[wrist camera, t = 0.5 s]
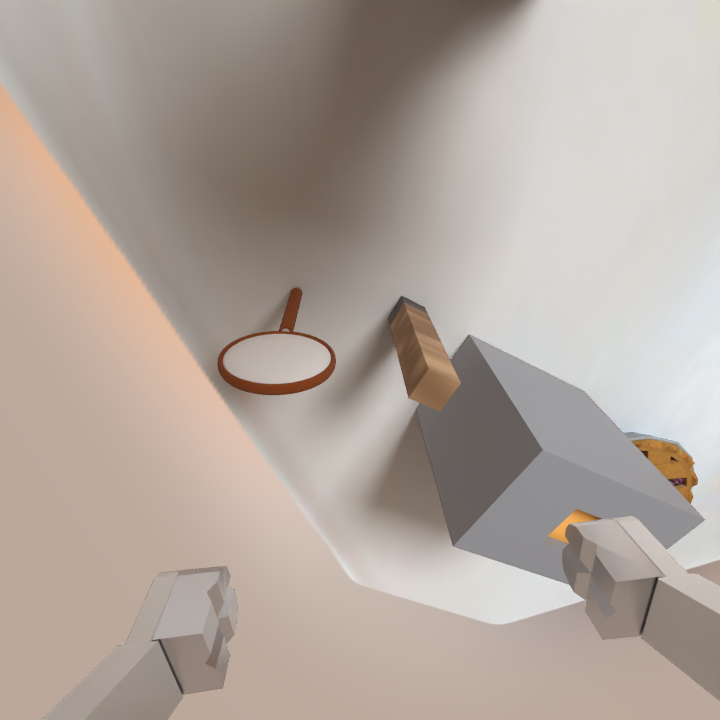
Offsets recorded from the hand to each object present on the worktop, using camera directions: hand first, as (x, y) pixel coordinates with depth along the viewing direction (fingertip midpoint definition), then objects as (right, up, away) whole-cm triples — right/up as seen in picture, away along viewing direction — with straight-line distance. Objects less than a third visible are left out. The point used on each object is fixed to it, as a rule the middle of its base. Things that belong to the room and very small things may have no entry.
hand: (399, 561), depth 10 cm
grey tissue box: (+17, 0, +43) cm, 46 cm away
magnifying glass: (-8, +13, +35) cm, 38 cm away
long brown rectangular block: (+4, +10, +37) cm, 38 cm away
